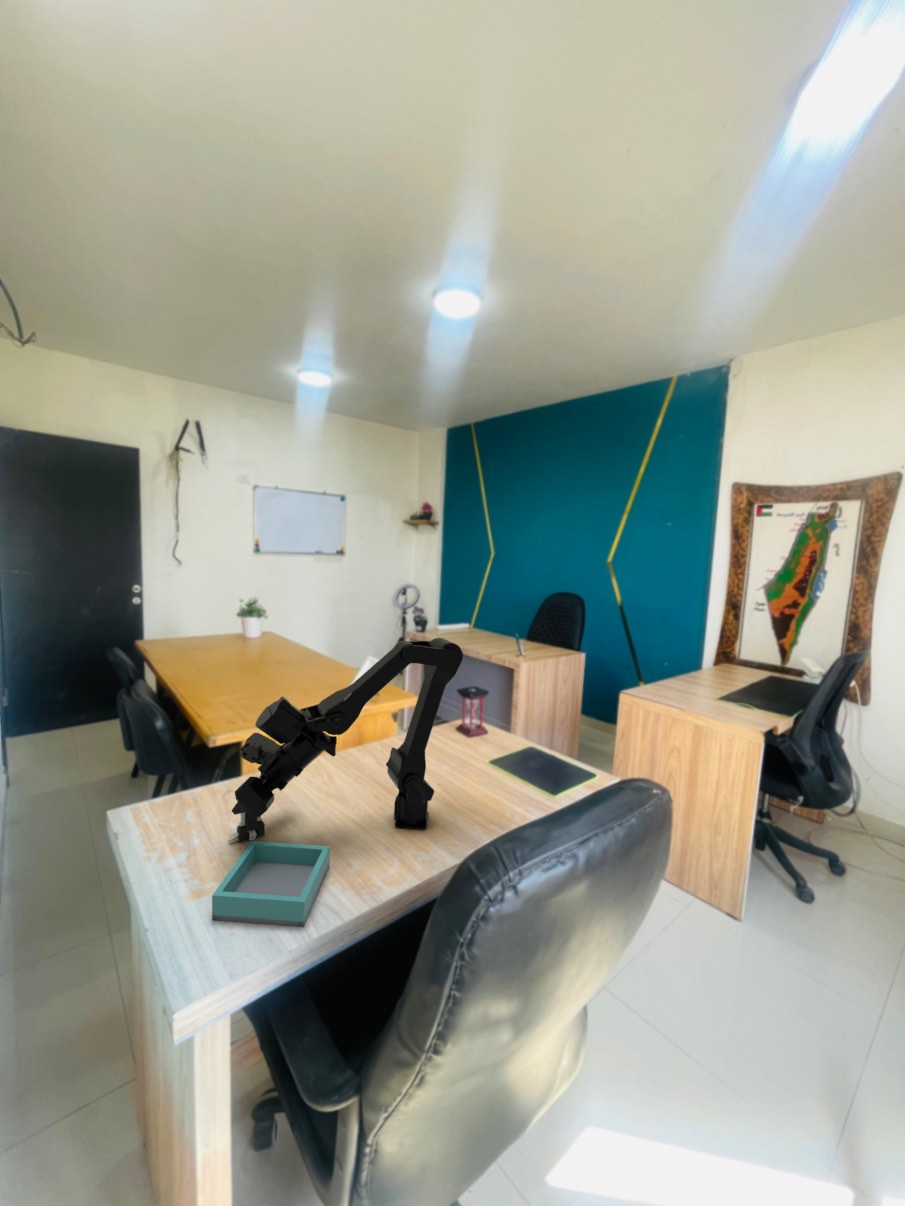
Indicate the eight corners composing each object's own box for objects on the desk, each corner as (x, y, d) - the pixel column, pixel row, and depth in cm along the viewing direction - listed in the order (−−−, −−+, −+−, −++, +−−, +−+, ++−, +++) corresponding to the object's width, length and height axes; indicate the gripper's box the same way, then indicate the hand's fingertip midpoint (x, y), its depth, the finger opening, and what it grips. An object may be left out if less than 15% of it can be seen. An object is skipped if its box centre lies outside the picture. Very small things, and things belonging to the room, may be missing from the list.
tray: (329, 867, 89) (329, 846, 89) (303, 926, 75) (304, 902, 75) (251, 862, 89) (252, 841, 89) (212, 919, 76) (212, 895, 75)
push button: (232, 851, 92) (232, 801, 91) (224, 836, 96) (224, 788, 95) (268, 839, 96) (269, 791, 95) (260, 825, 101) (260, 778, 99)
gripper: (286, 707, 103) (233, 754, 105) (246, 742, 85) (183, 799, 86) (323, 746, 104) (270, 792, 105) (291, 789, 85) (227, 845, 87)
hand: (240, 805), depth 96 cm, fingers closed on push button, 5 cm apart
